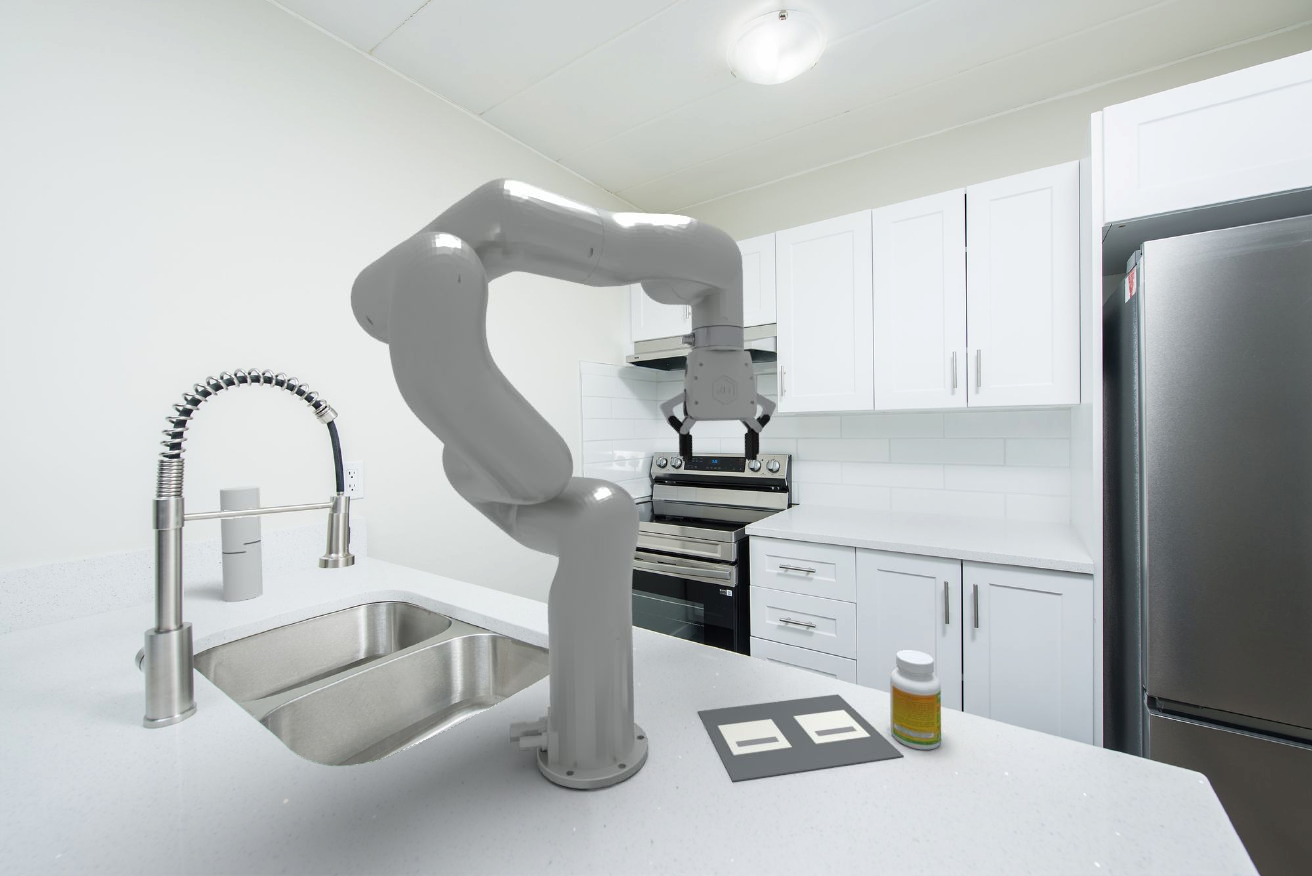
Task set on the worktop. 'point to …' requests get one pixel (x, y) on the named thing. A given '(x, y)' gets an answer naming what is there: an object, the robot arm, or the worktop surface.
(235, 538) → the cylindrical container
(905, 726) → the supplement bottle
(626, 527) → the robot arm
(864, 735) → the label mat
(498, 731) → the worktop surface
